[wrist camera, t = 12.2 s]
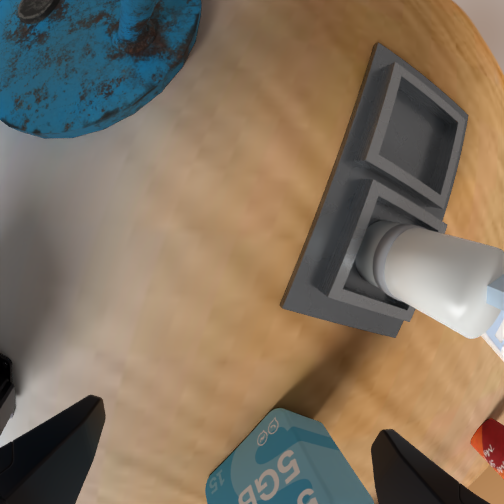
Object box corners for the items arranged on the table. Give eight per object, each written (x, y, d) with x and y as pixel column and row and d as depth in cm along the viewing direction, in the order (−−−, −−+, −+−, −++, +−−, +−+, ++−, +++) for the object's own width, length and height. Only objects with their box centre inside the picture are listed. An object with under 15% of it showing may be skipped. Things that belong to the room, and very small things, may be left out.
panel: (279, 305, 22) (290, 317, 20) (374, 44, 20) (390, 35, 17) (391, 334, 25) (406, 345, 23) (463, 116, 23) (480, 113, 21)
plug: (359, 295, 23) (485, 377, 11) (348, 229, 21) (497, 279, 10) (410, 272, 23) (536, 330, 12) (403, 211, 22) (546, 242, 10)
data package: (278, 399, 24) (341, 514, 12) (317, 414, 25) (384, 513, 14) (202, 481, 24) (224, 585, 13) (241, 490, 26) (272, 585, 14)
